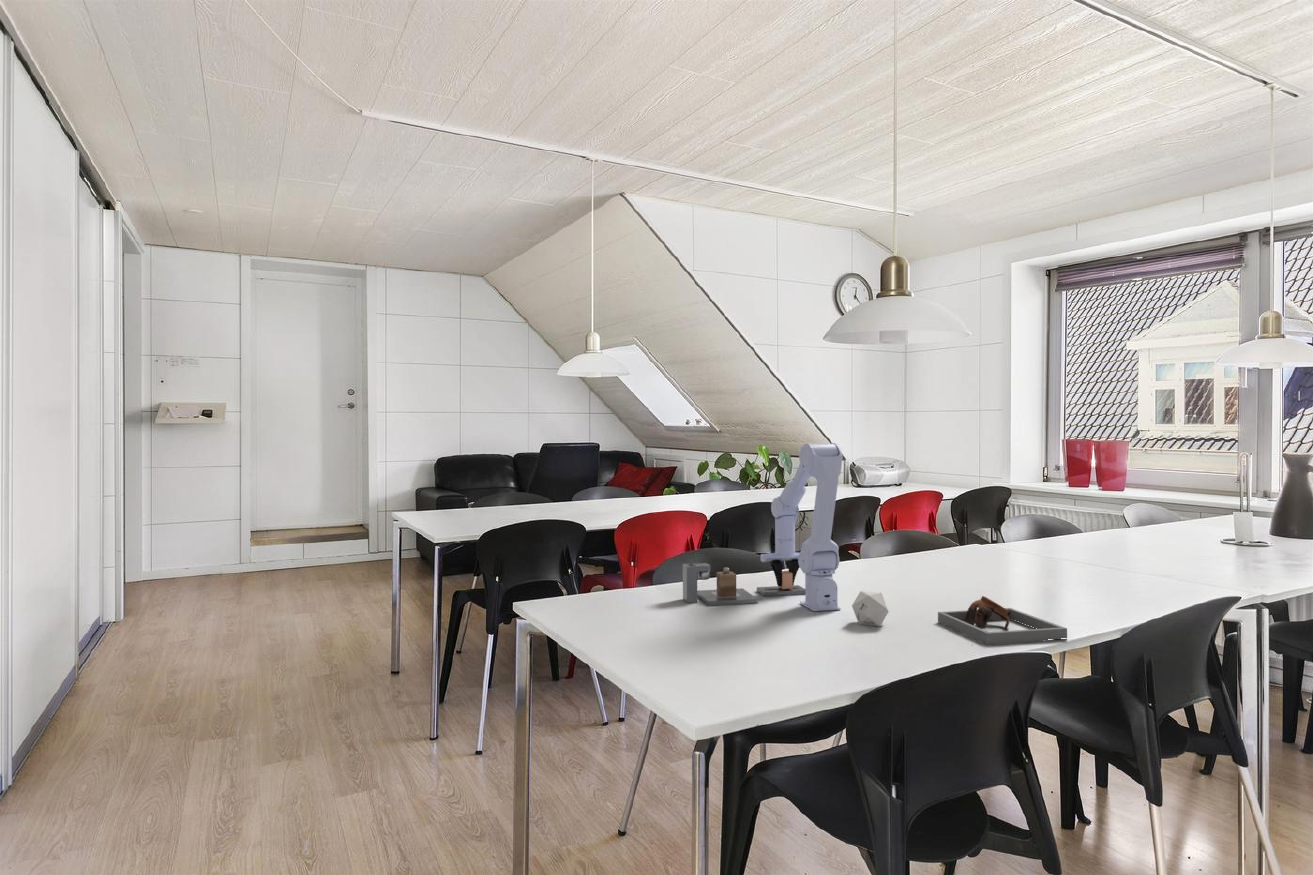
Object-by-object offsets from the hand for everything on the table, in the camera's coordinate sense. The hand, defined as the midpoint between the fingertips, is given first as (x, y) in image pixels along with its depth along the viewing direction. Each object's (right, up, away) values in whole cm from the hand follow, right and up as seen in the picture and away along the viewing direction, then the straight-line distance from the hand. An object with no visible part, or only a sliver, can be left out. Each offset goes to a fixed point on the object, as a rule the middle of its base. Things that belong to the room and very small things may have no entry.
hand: (785, 585), depth 223 cm
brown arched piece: (+41, -3, -40) cm, 58 cm away
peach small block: (0, -1, 0) cm, 1 cm away
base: (-1, -2, 0) cm, 2 cm away
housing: (-18, -1, -8) cm, 20 cm away
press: (-20, -2, -8) cm, 22 cm away
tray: (+44, -2, -43) cm, 61 cm away
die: (+15, -3, -36) cm, 39 cm away
